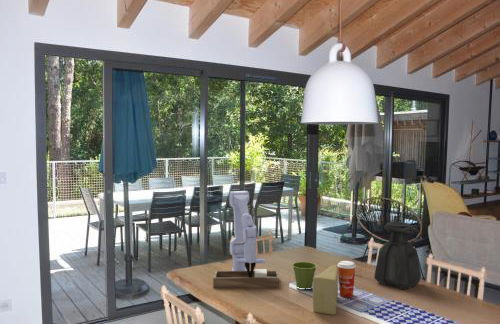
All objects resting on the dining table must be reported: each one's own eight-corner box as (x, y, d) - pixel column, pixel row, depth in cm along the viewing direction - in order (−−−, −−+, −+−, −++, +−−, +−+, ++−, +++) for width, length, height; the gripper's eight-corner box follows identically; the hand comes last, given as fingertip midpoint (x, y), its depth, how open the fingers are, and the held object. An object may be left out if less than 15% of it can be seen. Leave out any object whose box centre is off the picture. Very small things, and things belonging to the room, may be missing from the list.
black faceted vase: (372, 283, 212) (373, 223, 210) (388, 276, 223) (389, 219, 222) (407, 292, 199) (408, 228, 198) (422, 284, 211) (423, 223, 209)
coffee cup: (334, 296, 193) (335, 264, 193) (340, 291, 201) (340, 259, 200) (353, 299, 189) (353, 266, 189) (357, 294, 197) (358, 261, 196)
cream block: (254, 276, 215) (254, 269, 215) (266, 276, 215) (266, 269, 215) (254, 281, 209) (254, 273, 209) (266, 281, 209) (266, 273, 209)
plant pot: (316, 293, 198) (316, 269, 198) (290, 291, 200) (290, 267, 200) (317, 284, 210) (317, 262, 209) (293, 283, 212) (293, 260, 212)
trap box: (215, 279, 218) (215, 270, 218) (277, 279, 218) (277, 270, 218) (213, 287, 206) (213, 278, 206) (279, 287, 206) (279, 278, 206)
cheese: (324, 294, 196) (325, 262, 196) (346, 297, 192) (346, 265, 192) (312, 312, 176) (312, 276, 175) (335, 315, 172) (335, 279, 171)
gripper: (235, 252, 207) (235, 280, 208) (265, 252, 207) (265, 280, 208) (235, 249, 214) (235, 275, 215) (264, 249, 214) (264, 275, 215)
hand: (250, 277), depth 212 cm, fingers closed
